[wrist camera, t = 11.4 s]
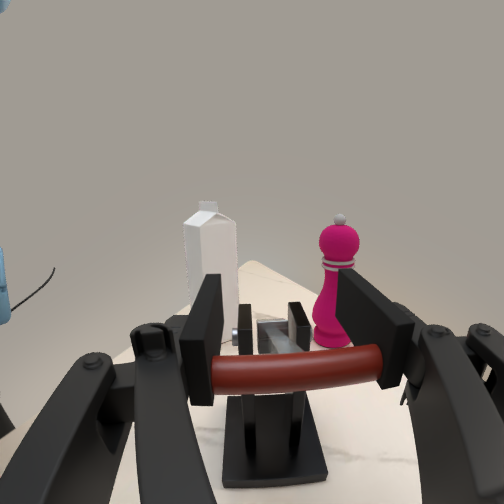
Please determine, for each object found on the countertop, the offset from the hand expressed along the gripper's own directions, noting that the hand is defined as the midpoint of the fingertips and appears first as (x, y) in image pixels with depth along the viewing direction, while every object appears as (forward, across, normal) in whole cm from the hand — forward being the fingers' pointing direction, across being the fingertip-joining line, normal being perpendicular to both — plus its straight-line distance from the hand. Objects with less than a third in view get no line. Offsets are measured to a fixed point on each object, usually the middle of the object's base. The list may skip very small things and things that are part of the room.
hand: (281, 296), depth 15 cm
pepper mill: (+26, +12, -19) cm, 34 cm away
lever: (0, 0, -4) cm, 4 cm away
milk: (+29, -7, -19) cm, 35 cm away
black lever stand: (+6, 0, -18) cm, 19 cm away
